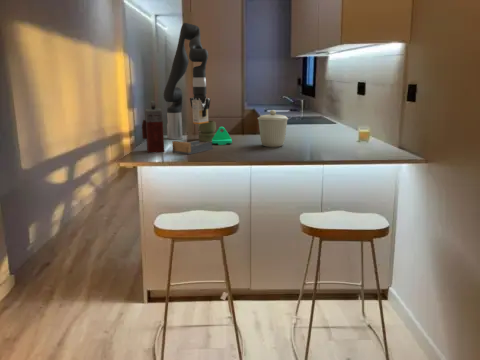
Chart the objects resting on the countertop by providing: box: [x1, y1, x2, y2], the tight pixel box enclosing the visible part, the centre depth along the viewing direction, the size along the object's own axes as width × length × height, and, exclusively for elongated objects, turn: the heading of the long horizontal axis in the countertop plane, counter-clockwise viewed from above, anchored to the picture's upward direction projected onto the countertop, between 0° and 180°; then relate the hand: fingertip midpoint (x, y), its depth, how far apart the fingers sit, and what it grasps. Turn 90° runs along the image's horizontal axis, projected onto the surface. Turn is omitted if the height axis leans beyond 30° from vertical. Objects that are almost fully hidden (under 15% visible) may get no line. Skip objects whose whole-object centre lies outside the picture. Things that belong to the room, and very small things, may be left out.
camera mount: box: [211, 126, 233, 146], centre depth 280 cm, size 12×8×10 cm, turn 93°
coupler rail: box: [172, 140, 214, 155], centre depth 257 cm, size 12×20×6 cm, turn 143°
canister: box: [257, 109, 289, 148], centre depth 269 cm, size 18×18×21 cm
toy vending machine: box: [141, 100, 165, 154], centre depth 254 cm, size 9×11×28 cm
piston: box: [197, 120, 217, 143], centre depth 294 cm, size 11×12×11 cm
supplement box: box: [191, 100, 209, 125], centre depth 259 cm, size 8×5×13 cm, turn 141°
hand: (200, 116), depth 259 cm, fingers closed on supplement box, 5 cm apart
